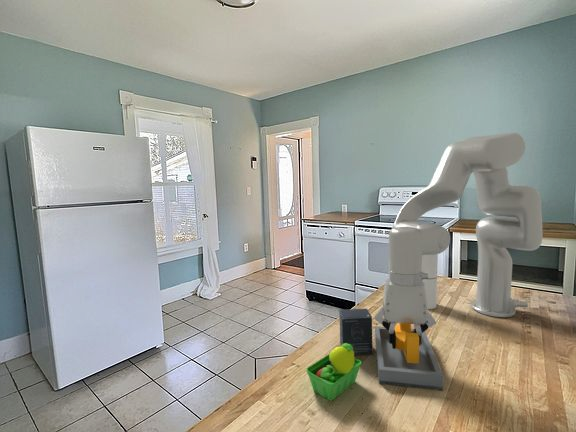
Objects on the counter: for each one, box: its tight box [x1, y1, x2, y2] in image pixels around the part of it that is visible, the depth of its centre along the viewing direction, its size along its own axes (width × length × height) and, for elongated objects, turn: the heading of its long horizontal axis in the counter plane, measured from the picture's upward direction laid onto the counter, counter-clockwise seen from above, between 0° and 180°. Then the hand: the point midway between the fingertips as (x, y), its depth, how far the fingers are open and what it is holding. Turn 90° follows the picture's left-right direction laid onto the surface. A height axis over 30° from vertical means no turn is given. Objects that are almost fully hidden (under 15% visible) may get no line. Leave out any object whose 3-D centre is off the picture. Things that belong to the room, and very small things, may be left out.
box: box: [339, 308, 374, 356], centre depth 83 cm, size 8×6×11 cm
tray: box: [374, 325, 444, 392], centre depth 78 cm, size 13×20×4 cm, turn 167°
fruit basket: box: [305, 343, 362, 402], centre depth 69 cm, size 11×9×11 cm
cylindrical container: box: [422, 254, 439, 310], centre depth 109 cm, size 7×7×25 cm
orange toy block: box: [395, 323, 419, 364], centre depth 78 cm, size 12×4×6 cm, turn 169°
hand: (404, 346), depth 78 cm, fingers closed on orange toy block, 4 cm apart
